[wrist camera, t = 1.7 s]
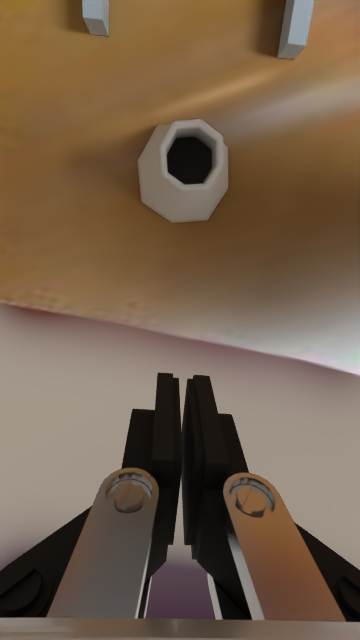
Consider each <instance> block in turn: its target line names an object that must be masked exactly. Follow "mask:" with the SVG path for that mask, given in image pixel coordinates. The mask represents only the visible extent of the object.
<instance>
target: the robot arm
mask: <svg viewBox="0 0 360 640" xmlns="http://www.w3.org/2000/svg"><path fill="white" fill-rule="evenodd" d="M181 478H182V501H183V525H184V544H185V545H191V549H192V559H197V562H198V563H199V564H200V565H201V566H202V567H203V568H204V569H205V570H206V571H207V572H208V585H209V590H210V594H211V599H212V603H213V608H214V613H215V617H216V620H211V619H210V620H209V619H208V620H207V619H145V615H146V609H147V603H148V597H149V591H150V586H151V577H152V575H153V574H154V573H155V572H156V571H157V570H158V569H159V568H160V567H161V566H162V565H163V564H164V563H165V562H166V557H167V548H168V545H173V540H174V531H175V522H176V515H177V506H178V498H179V489H180V481H181ZM0 640H360V570H359V569H357V568H356V567H354V566H353V565H352V564H350V563H349V562H348V561H346V560H345V559H344V558H342V557H341V556H340V555H338V554H337V553H336V552H334V551H333V550H331V549H330V548H329V547H327V546H326V545H325V544H323V543H322V542H320V541H319V540H318V539H317V538H315V537H314V536H312V535H311V534H310V533H308V532H307V531H306V530H304V529H303V528H302V527H300V526H299V525H298V524H296V523H295V522H294V521H293V519H292V517H291V516H290V513H289V512H288V510H287V508H286V506H285V504H284V502H283V500H282V498H281V496H280V494H279V493H278V492H277V490H276V489H275V487H274V486H273V485H272V484H271V483H270V482H268V481H267V480H266V479H264V478H262V477H260V476H258V475H255V474H252V473H249V471H248V468H247V464H246V461H245V458H244V454H243V451H242V447H241V444H240V441H239V437H238V434H237V431H236V427H235V424H234V420H233V417H232V415H231V414H218V411H217V407H216V403H215V398H214V394H213V390H212V385H211V381H210V377H209V376H203V375H194V376H193V379H188V380H187V388H186V397H185V405H184V414H183V423H182V432H181V416H180V396H179V378H173V374H171V373H158V377H157V390H156V404H155V410H146V409H133V410H132V414H131V419H130V425H129V430H128V435H127V441H126V446H125V452H124V458H123V463H122V468H121V469H120V470H117V471H115V472H113V473H111V474H110V475H109V476H108V477H107V478H106V479H105V480H104V481H103V483H102V484H101V486H100V488H99V491H98V493H97V495H96V498H95V500H94V503H93V505H92V506H91V507H90V508H88V509H87V510H85V511H84V512H83V513H81V514H80V515H78V516H77V517H75V518H74V519H73V520H71V521H70V522H69V523H67V524H66V525H64V526H63V527H61V528H60V529H58V530H57V531H55V532H54V533H53V534H51V535H50V536H48V537H47V538H46V539H44V540H43V541H41V542H40V543H39V544H37V545H36V546H34V547H33V548H31V549H30V550H29V551H27V552H26V553H24V554H23V555H21V556H20V557H18V558H17V559H16V560H14V561H13V562H11V563H10V564H8V565H7V566H6V567H5V568H4V569H2V570H1V571H0Z"/></svg>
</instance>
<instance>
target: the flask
mask: <svg viewBox="0 0 360 640" xmlns="http://www.w3.org/2000/svg"><path fill="white" fill-rule="evenodd" d="M137 165H138V175H139V184H140V194H141V202H142V203H143V204H145V205H146V206H148V207H149V208H151V209H152V210H154V211H155V212H157V213H158V214H159V215H161V216H162V217H164V218H165V219H167V220H168V221H170V222H171V223H179V222H193V221H207V220H208V219H209V217H210V216H211V214H212V213H213V211H214V210H215V208H216V207H217V205H218V204H219V202H220V200H221V199H222V197H223V196H224V194H225V193H226V191H227V190H228V146H226V145H225V144H224V143H223V136H222V135H221V134H220V133H218V132H217V131H216V130H215V129H213V128H212V127H211V126H209V125H208V124H207V123H206V122H204V121H203V120H202V119H191V120H177V121H173V122H172V124H163V125H157V126H156V128H155V130H154V132H153V133H152V135H151V137H150V139H149V141H148V143H147V145H146V146H145V148H144V150H143V152H142V154H141V156H140V157H139V159H138V161H137Z"/></svg>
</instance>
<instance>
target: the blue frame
mask: <svg viewBox="0 0 360 640" xmlns="http://www.w3.org/2000/svg"><path fill="white" fill-rule="evenodd" d="M313 5H314V0H286V6H285V12H284V19H283V25H282V31H281V37H280V44H279V50H278V56H277V58H285V59H293V60H294V59H295V58H296V57H297V56H298V54H299V53H300V52H301V51H302V50H303V49H304V47H305V46H306V43H307V37H308V32H309V26H310V21H311V16H312V10H313ZM82 7H83V19H84V21H85V23H86V25H87V28H88V30H89V32H90V34H94V35H102V36H109V0H82Z"/></svg>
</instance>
